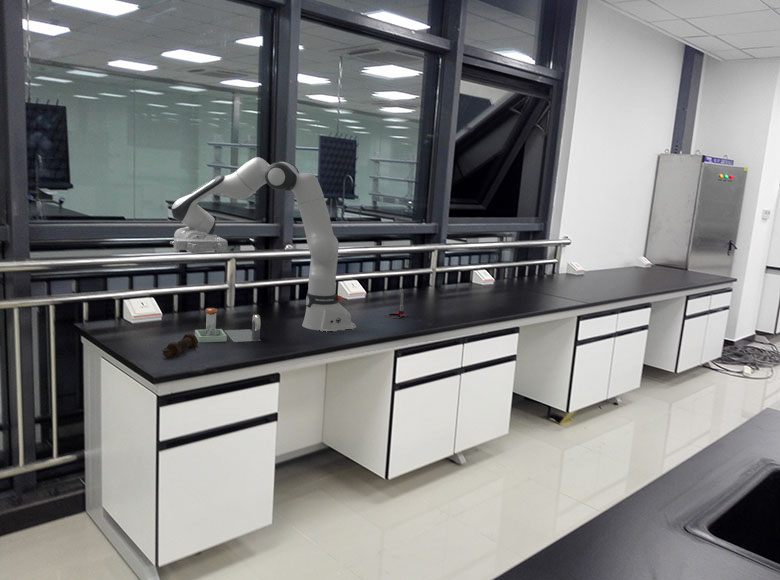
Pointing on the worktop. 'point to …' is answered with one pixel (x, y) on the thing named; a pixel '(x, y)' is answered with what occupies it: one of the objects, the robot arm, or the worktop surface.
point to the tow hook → (401, 306)
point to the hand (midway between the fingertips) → (207, 247)
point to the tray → (203, 338)
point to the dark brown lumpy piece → (180, 345)
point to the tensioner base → (247, 332)
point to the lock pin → (211, 321)
